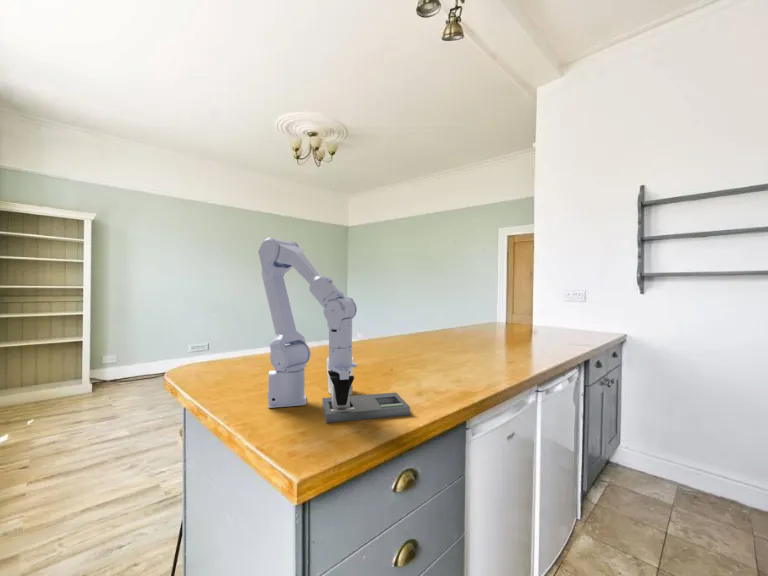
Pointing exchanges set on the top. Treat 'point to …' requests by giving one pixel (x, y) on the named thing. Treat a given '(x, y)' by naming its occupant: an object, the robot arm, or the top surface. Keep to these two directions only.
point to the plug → (334, 402)
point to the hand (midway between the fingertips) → (340, 401)
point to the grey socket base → (366, 407)
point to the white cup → (330, 379)
